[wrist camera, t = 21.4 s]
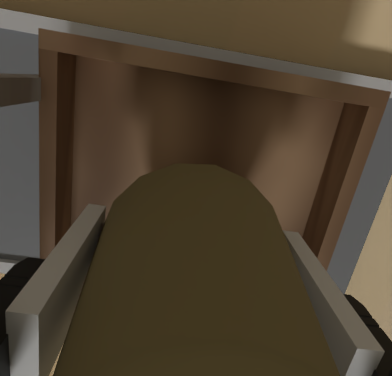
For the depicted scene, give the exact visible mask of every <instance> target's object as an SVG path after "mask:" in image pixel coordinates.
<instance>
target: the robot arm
mask: <svg viewBox="0 0 392 376" xmlns="http://www.w3.org/2000/svg"><path fill="white" fill-rule="evenodd" d="M105 214H106V206H102V205H95V204H88V205H87V206H86V208H85V209H84V210H83V211H82V213H81V214H80V215H79V217H78V218H77V219H76V221H75V222H74V223H73V224H72V226H71V227H70V228H69V230H68V231H67V232H66V233H65V235H64V236H63V237H62V239H61V240H60V241H59V242H58V244H57V245H56V246H55V248H54V249H53V250H52V252H51V253H50V254H49V255H48V257H47V258H46V259H40V258H31V257H27V258H26V259H24V260H22V261H20V262H18V263H17V264H15V265H14V266H13V267H12V268H11V269H10V270H9V271H8V272H7V273H6V274H5V276H4V277H3V278H2V279H1V280H0V376H49V374H50V372H51V369H52V367H53V365H54V363H55V361H56V358H57V356H58V354H59V352H60V350H61V348H62V345H63V343H64V341H65V338H66V335H67V332H68V329H69V326H70V323H71V320H72V317H73V314H74V311H75V308H76V305H77V302H78V299H79V296H80V293H81V290H82V287H83V284H84V281H85V278H86V275H87V272H88V269H89V266H90V263H91V260H92V257H93V254H94V251H95V248H96V245H97V242H98V239H99V236H100V233H101V231H102V228H103V225H104V223H105ZM282 231H283V233H284V236H285V238H286V241H287V243H288V246H289V248H290V251H291V253H292V256H293V258H294V261H295V263H296V266H297V268H298V271H299V273H300V276H301V278H302V281H303V283H304V286H305V288H306V291H307V293H308V296H309V298H310V301H311V303H312V306H313V308H314V311H315V313H316V316H317V318H318V321H319V323H320V326H321V329H322V331H323V334H324V336H325V339H326V341H327V344H328V346H329V349H330V351H331V354H332V356H333V359H334V361H335V364H336V366H337V369H338V371H339V374H340V376H392V341H391V340H390V339H389V338H388V336H387V335H386V334H385V332H384V331H383V330H382V329H381V328H379V325H378V323H377V322H376V321H375V320H374V319H372V316H371V315H370V313H369V312H368V311H367V309H366V308H365V307H364V306H363V305H362V304H361V303H360V302H359V301H357V300H356V299H355V298H354V297H352V296H351V295H346V294H343V293H342V292H341V291H340V289H339V288H338V286H337V285H336V284H335V282H334V281H333V280H332V278H331V277H330V275H329V274H328V273H327V271H326V270H325V269H324V267H323V266H322V264H321V263H320V262H319V260H318V259H317V258H316V256H315V255H314V253H313V252H312V251H311V249H310V248H309V247H308V245H307V244H306V242H305V241H304V240H303V238H302V237H301V236H300V234H299V233H298V232H292V231H285V230H282Z"/></svg>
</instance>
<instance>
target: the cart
mask: <svg viewBox="0 0 392 376" xmlns="http://www.w3.org/2000/svg"><path fill="white" fill-rule="evenodd" d="M38 54H39V74H4V73H0V107H4V106H10V105H17V104H23V103H30V102H36V101H39V232H40V259H46V258H47V257H48V255H49V254H50V253H51V252H52V250H53V249H54V248H55V246H56V245H57V244H58V242H59V241H60V240H61V239H62V237H63V236H64V235H65V233H66V232H67V231H68V230H69V228H70V227H71V226H72V224H73V223H74V222H75V221H76V219H77V218H78V217H79V215H80V214H81V213H82V211H83V210H84V209H85V208H86V206H87V205H88V204H95V205H102V206H106V214H105V220H106V218H107V216H108V213H109V211H110V208H111V206H112V203H113V201H114V200H115V199H116V198H117V197H118V196H119V195H120V194H121V193H123V192H124V191H125V190H126V189H127V188H128V187H129V186H130V185H131V184H132V183H133V182H134V181H136V180H137V179H138V178H139V177H140V176H142V175H145V174H148V173H151V172H153V171H156V170H159V169H162V168H165V167H167V166H170V165H173V164H176V163H182V164H209V165H217V166H219V167H221V168H224V169H226V170H228V171H230V172H233V173H235V174H237V175H239V176H241V177H244V178H246V179H248V180H250V181H251V182H252V183H253V185H254V186H255V187H256V188H257V189H258V190H259V191H260V192H261V193H262V195H263V196H264V197H265V198H266V199H267V200H268V201H269V202H270V203H271V205H272V206H273V208H274V210H275V213H276V215H277V218H278V220H279V223H280V225H281V228H282V230H285V231H292V232H298V233H299V234H300V236H301V237H302V238H303V240H304V241H305V242H306V244H307V245H308V247H309V248H310V249H311V251H312V252H313V253H314V255H315V256H316V258H317V259H318V260H319V262H320V263H321V264H322V266H323V267H324V269H325V270H326V271H327V269H328V266H329V263H330V261H331V258H332V255H333V252H334V250H335V247H336V244H337V241H338V238H339V236H340V233H341V230H342V227H343V225H344V222H345V219H346V216H347V213H348V211H349V208H350V205H351V202H352V200H353V197H354V194H355V191H356V188H357V186H358V183H359V180H360V177H361V175H362V172H363V169H364V166H365V164H366V161H367V158H368V155H369V152H370V150H371V147H372V144H373V141H374V139H375V136H376V133H377V130H378V127H379V125H380V122H381V119H382V116H383V114H384V111H385V108H386V105H387V102H388V100H389V97H390V94H391V92H390V91H384V90H379V89H373V88H368V87H362V86H356V85H351V84H345V83H340V82H334V81H329V80H323V79H318V78H312V77H307V76H301V75H296V74H290V73H285V72H279V71H274V70H268V69H263V68H257V67H252V66H246V65H241V64H235V63H230V62H224V61H219V60H213V59H207V58H202V57H196V56H191V55H185V54H180V53H174V52H169V51H163V50H158V49H152V48H147V47H141V46H136V45H130V44H125V43H119V42H114V41H108V40H103V39H97V38H92V37H86V36H81V35H75V34H70V33H64V32H59V31H53V30H47V29H42V28H38Z"/></svg>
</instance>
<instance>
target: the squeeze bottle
mask: <svg viewBox="0 0 392 376" xmlns="http://www.w3.org/2000/svg"><path fill="white" fill-rule="evenodd" d="M53 376H340V374H339V371H338V369H337V366H336V364H335V361H334V359H333V356H332V354H331V351H330V349H329V346H328V344H327V341H326V339H325V336H324V334H323V331H322V329H321V326H320V323H319V321H318V318H317V316H316V313H315V311H314V308H313V306H312V303H311V301H310V298H309V296H308V293H307V291H306V288H305V286H304V283H303V281H302V278H301V276H300V273H299V271H298V268H297V266H296V263H295V261H294V258H293V256H292V253H291V251H290V248H289V246H288V243H287V241H286V238H285V236H284V233H283V231H282V228H281V225H280V223H279V220H278V218H277V215H276V213H275V210H274V208H273V206H272V205H271V203H270V202H269V201H268V200H267V199H266V198H265V197H264V196H263V195H262V193H261V192H260V191H259V190H258V189H257V188H256V187H255V186H254V185H253V183H252V182H251V181H250V180H248V179H246V178H244V177H241V176H239V175H237V174H235V173H233V172H230V171H228V170H226V169H224V168H221V167H219V166H217V165H209V164H182V163H176V164H173V165H170V166H167V167H165V168H162V169H159V170H156V171H153V172H151V173H148V174H145V175H142V176H140V177H139V178H138V179H137V180H136V181H134V182H133V183H132V184H131V185H130V186H129V187H128V188H127V189H126V190H125V191H124V192H123V193H121V194H120V195H119V196H118V197H117V198H116V199H115V200H114V201H113V203H112V206H111V208H110V211H109V213H108V216H107V218H106V220H105V223H104V225H103V228H102V231H101V233H100V236H99V239H98V242H97V245H96V248H95V251H94V254H93V257H92V260H91V263H90V266H89V269H88V272H87V275H86V278H85V281H84V284H83V287H82V290H81V293H80V296H79V299H78V302H77V305H76V308H75V311H74V314H73V317H72V320H71V323H70V326H69V329H68V332H67V335H66V338H65V341H64V344H63V347H62V350H61V353H60V356H59V359H58V362H57V365H56V368H55V371H54V374H53Z"/></svg>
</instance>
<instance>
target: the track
mask: <svg viewBox="0 0 392 376" xmlns="http://www.w3.org/2000/svg"><path fill="white" fill-rule="evenodd" d="M38 28H42V29H47V30H53V31H59V32H64V33H70V34H75V35H81V36H86V37H92V38H97V39H103V40H108V41H114V42H119V43H125V44H130V45H136V46H141V47H147V48H152V49H158V50H163V51H169V52H174V53H180V54H185V55H191V56H196V57H202V58H207V59H213V60H219V61H224V62H230V63H235V64H241V65H246V66H252V67H257V68H263V69H268V70H274V71H279V72H285V73H290V74H296V75H301V76H307V77H312V78H318V79H323V80H329V81H334V82H340V83H345V84H351V85H356V86H362V87H368V88H373V89H379V90H384V91H390V92H391V94H390V97H389V100H388V102H387V105H386V108H385V111H384V114H383V116H382V119H381V122H380V125H379V127H378V130H377V133H376V136H375V139H374V141H373V144H372V147H371V150H370V152H369V155H368V158H367V161H366V164H365V166H364V169H363V172H362V175H361V177H360V180H359V183H358V186H357V188H356V191H355V194H354V197H353V200H352V202H351V205H350V208H349V211H348V213H347V216H346V219H345V222H344V225H343V227H342V230H341V233H340V236H339V238H338V241H337V244H336V247H335V250H334V252H333V255H332V258H331V261H330V263H329V266H328V269H327V273H328V274H329V275H330V277H331V278H332V280H333V281H334V282H335V284H336V285H337V286H338V288H339V289H340V291H341V292H342V293H343V294H345V291H346V289H347V286H348V284H349V281H350V279H351V276H352V274H353V271H354V268H355V266H356V263H357V261H358V258H359V256H360V253H361V251H362V248H363V246H364V243H365V241H366V238H367V235H368V233H369V230H370V228H371V225H372V223H373V220H374V218H375V215H376V213H377V210H378V208H379V205H380V203H381V200H382V197H383V195H384V192H385V190H386V187H387V185H388V182H389V180H390V177H391V175H392V80H386V79H381V78H375V77H370V76H364V75H359V74H354V73H348V72H343V71H337V70H332V69H327V68H321V67H316V66H310V65H305V64H299V63H294V62H289V61H283V60H278V59H272V58H267V57H261V56H256V55H251V54H245V53H240V52H234V51H229V50H224V49H218V48H213V47H207V46H202V45H196V44H191V43H186V42H180V41H175V40H169V39H164V38H158V37H153V36H148V35H142V34H137V33H131V32H126V31H121V30H115V29H110V28H104V27H99V26H93V25H88V24H83V23H77V22H72V21H66V20H61V19H55V18H50V17H45V16H39V15H34V14H28V13H23V12H17V11H12V10H7V9H1V8H0V73H4V74H39V54H38ZM27 257H31V258H40V232H39V101H36V102H30V103H23V104H17V105H10V106H4V107H0V273H4V274H6V273H7V272H8V271H9V270H10V269H11V268H12V267H13V266H14V265H15V264H17V263H18V262H20V261H22V260H24V259H26V258H27Z"/></svg>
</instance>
